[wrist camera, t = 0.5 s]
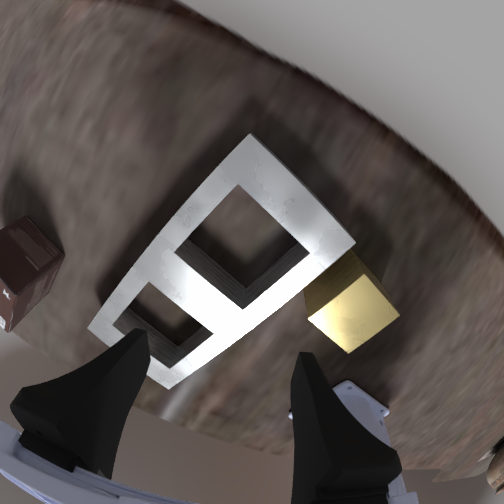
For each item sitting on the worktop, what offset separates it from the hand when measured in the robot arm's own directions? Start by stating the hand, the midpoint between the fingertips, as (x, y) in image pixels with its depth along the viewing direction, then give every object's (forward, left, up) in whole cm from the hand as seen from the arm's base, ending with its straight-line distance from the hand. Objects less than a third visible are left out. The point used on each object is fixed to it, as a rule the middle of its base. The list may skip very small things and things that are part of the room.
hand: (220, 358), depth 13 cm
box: (+14, +13, -10) cm, 22 cm away
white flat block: (+1, +2, -10) cm, 10 cm away
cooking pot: (-79, -11, -10) cm, 80 cm away
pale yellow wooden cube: (-7, -5, -10) cm, 13 cm away
